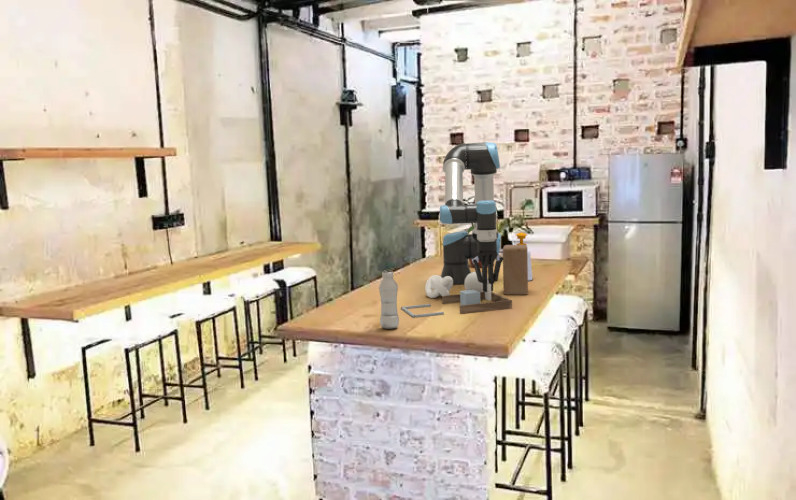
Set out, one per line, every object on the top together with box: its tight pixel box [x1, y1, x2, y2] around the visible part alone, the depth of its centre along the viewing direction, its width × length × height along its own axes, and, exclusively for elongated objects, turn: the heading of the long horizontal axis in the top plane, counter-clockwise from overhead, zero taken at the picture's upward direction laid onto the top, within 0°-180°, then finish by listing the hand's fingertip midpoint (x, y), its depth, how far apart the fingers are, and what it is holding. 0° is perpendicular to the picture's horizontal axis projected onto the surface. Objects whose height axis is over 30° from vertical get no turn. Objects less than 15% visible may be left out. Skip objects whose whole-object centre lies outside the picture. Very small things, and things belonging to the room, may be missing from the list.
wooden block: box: [502, 244, 529, 296], centre depth 276 cm, size 10×10×20 cm
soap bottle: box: [515, 231, 533, 282], centre depth 307 cm, size 10×14×22 cm
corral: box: [400, 303, 445, 319], centre depth 250 cm, size 16×12×1 cm
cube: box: [459, 289, 481, 306], centre depth 255 cm, size 6×6×6 cm
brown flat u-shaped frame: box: [441, 291, 513, 315], centre depth 256 cm, size 20×21×3 cm
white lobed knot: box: [424, 274, 454, 299], centre depth 274 cm, size 11×12×9 cm
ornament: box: [463, 270, 489, 292], centre depth 274 cm, size 10×10×12 cm
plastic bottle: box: [378, 270, 400, 330], centre depth 226 cm, size 6×7×20 cm
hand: (488, 299), depth 258 cm, fingers closed
